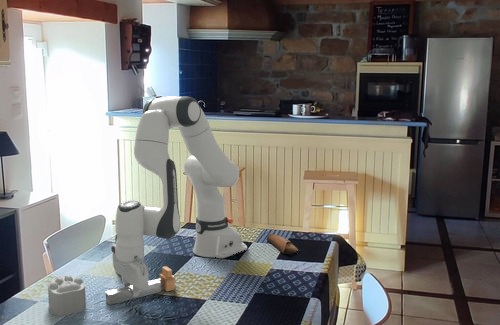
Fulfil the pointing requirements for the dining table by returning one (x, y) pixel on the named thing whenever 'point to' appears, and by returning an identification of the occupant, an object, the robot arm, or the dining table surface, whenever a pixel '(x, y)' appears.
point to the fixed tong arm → (131, 287)
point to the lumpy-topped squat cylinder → (66, 295)
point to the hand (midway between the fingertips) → (130, 292)
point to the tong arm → (127, 293)
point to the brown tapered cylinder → (281, 243)
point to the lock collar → (168, 278)
